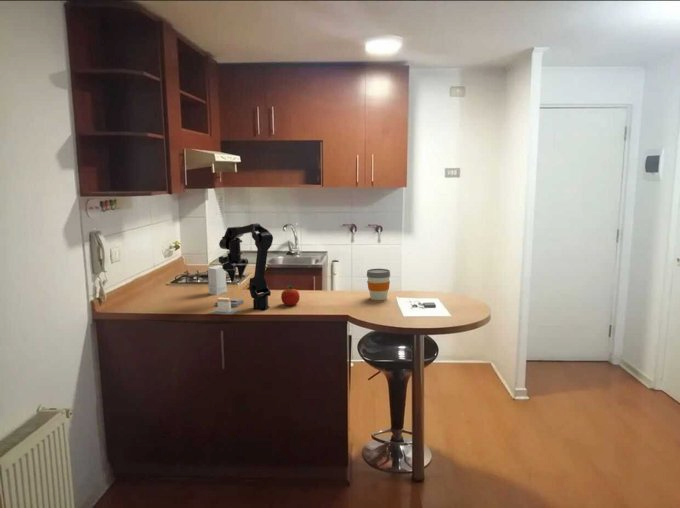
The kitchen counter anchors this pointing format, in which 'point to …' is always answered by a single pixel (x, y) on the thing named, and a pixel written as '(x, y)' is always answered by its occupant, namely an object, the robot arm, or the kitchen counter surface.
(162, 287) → the kitchen counter surface
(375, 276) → the reusable coffee cup
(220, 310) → the tan banded white slab
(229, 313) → the mat
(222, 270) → the skincare box
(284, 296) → the fruit
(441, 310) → the kitchen counter surface
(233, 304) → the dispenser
